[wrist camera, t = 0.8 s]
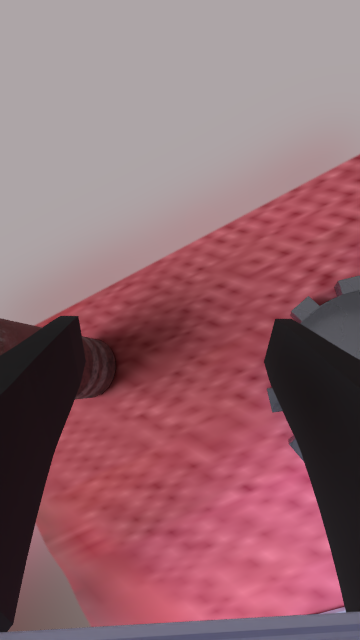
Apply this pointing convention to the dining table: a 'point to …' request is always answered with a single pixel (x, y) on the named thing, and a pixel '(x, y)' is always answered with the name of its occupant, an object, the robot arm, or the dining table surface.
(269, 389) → the sprocket
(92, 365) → the can
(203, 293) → the dining table surface
